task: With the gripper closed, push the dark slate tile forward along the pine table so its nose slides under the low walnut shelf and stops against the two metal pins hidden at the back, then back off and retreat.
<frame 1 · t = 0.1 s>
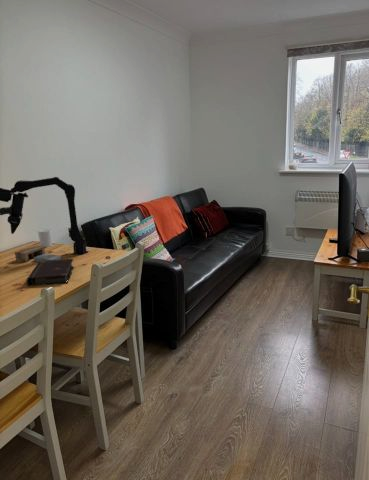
hand: (13, 231, 214), 15 cm above the table, tool pointing down, fingers open, 9 cm apart
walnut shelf: (30, 258, 220), on the table
white cup: (46, 246, 245), on the table
slate tile: (48, 261, 216), on the table
diary: (53, 277, 190), on the table
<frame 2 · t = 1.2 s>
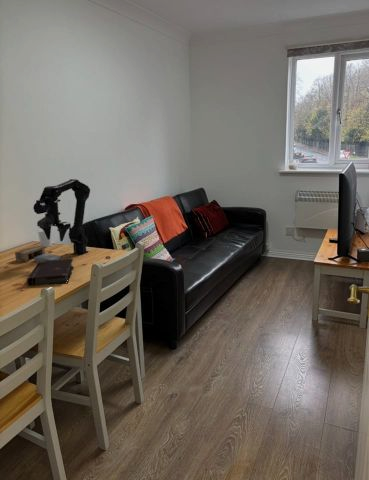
hand: (55, 240, 208), 12 cm above the table, tool pointing down, fingers open, 9 cm apart
nothing on the table moved.
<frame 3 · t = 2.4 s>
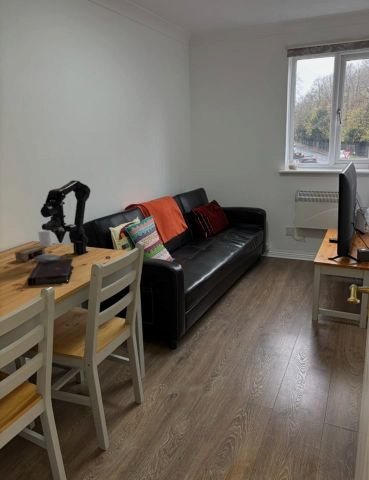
hand: (60, 242, 209), 11 cm above the table, tool pointing down, fingers closed
nothing on the table moved.
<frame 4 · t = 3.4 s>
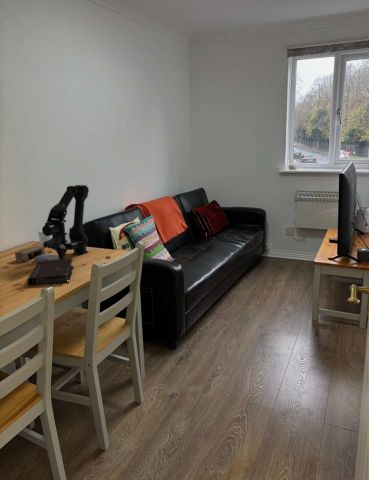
hand: (62, 260, 212), 1 cm above the table, tool pointing down, fingers closed
nothing on the table moved.
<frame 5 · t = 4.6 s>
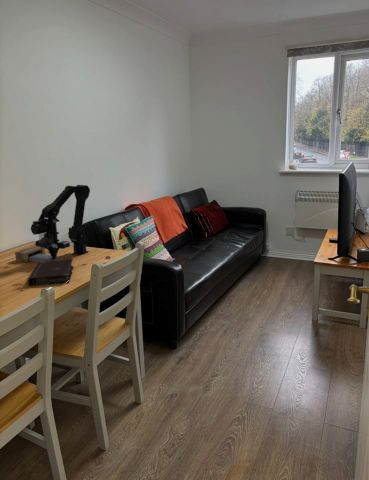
hand: (54, 259, 214), 1 cm above the table, tool pointing down, fingers closed
slate tile: (43, 260, 216), on the table
everything else where it was.
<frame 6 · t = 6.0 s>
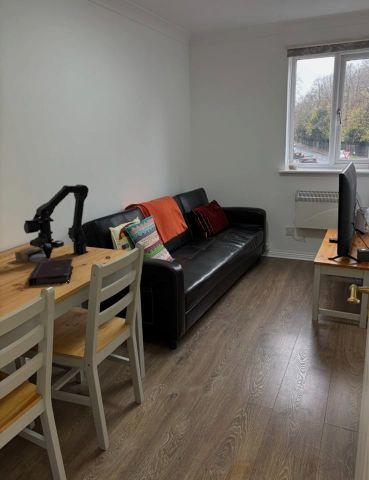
hand: (48, 258, 215), 1 cm above the table, tool pointing down, fingers closed
slate tile: (37, 260, 217), on the table, touching gripper, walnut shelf
everything else where it was.
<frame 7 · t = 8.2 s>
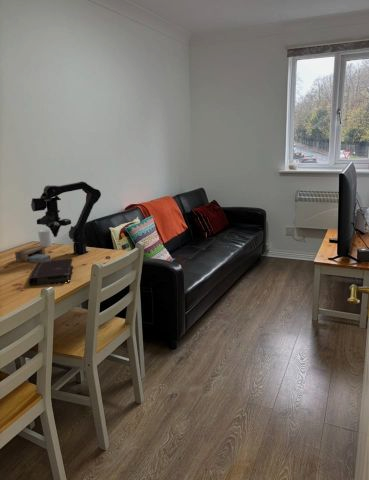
hand: (55, 236, 218), 12 cm above the table, tool pointing down, fingers closed
slate tile: (37, 260, 217), on the table
everything else where it was.
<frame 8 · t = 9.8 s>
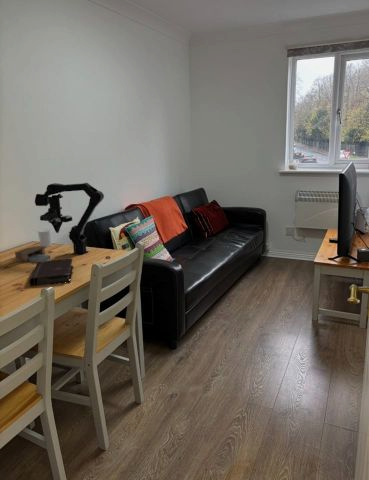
hand: (57, 232, 227), 12 cm above the table, tool pointing down, fingers closed
nothing on the table moved.
at the end: slate tile 1.5 cm from the target spot, on the table; slate tile tilted 0° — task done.
